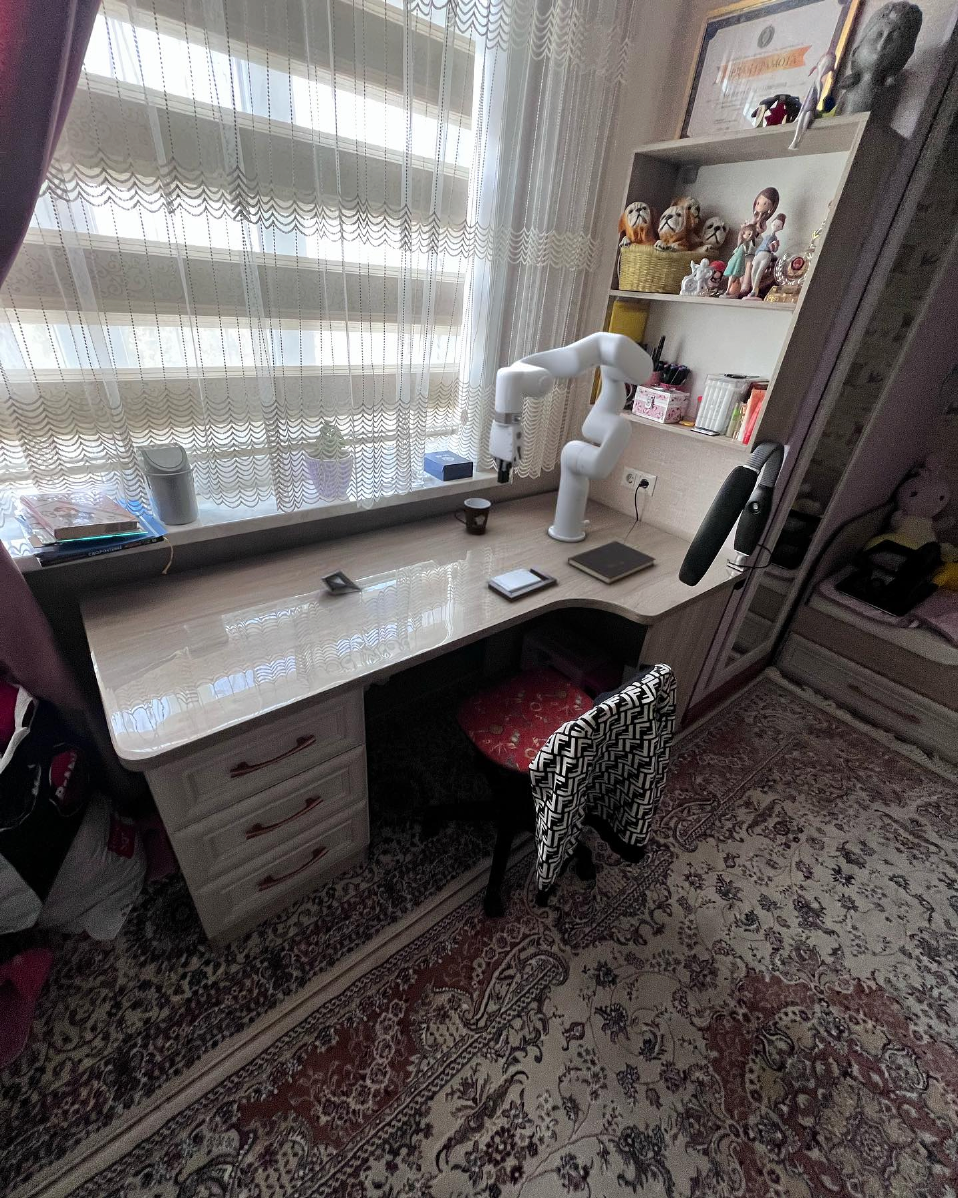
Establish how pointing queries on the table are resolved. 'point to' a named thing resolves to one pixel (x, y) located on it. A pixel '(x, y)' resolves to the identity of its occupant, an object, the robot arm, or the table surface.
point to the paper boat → (339, 583)
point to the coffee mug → (475, 515)
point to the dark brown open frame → (527, 591)
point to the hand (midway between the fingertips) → (503, 482)
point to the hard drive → (516, 580)
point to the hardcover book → (611, 562)
